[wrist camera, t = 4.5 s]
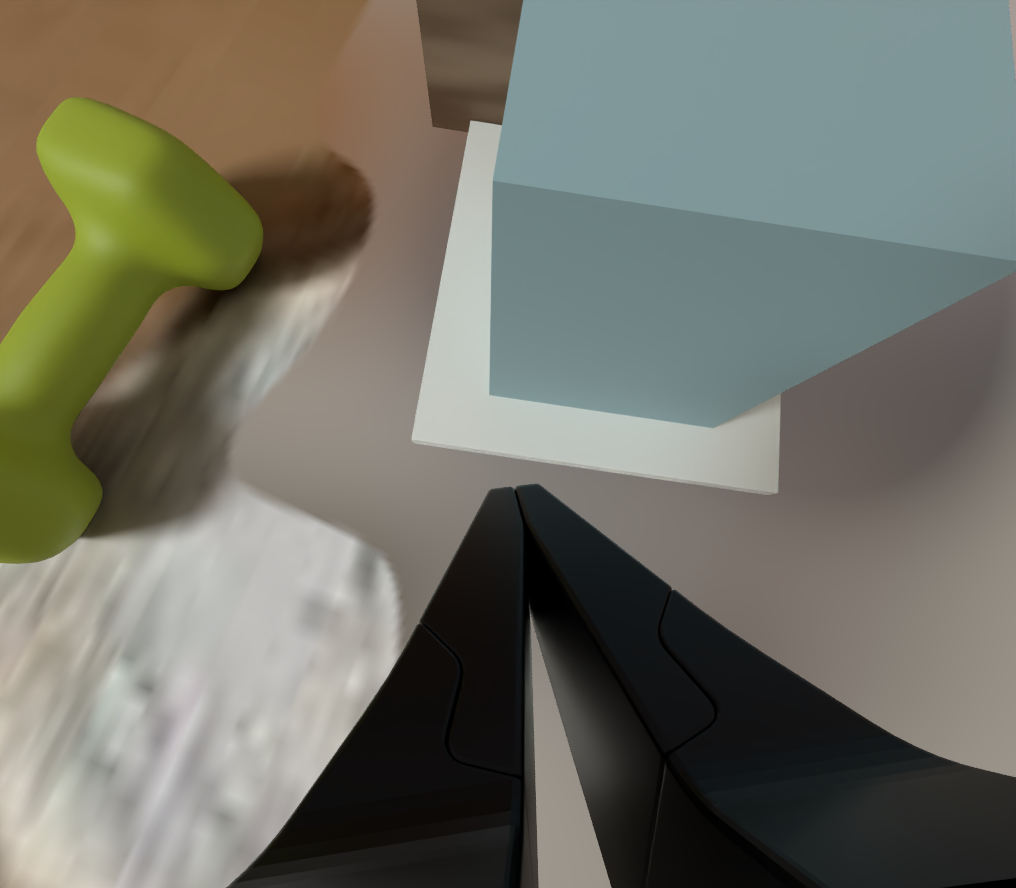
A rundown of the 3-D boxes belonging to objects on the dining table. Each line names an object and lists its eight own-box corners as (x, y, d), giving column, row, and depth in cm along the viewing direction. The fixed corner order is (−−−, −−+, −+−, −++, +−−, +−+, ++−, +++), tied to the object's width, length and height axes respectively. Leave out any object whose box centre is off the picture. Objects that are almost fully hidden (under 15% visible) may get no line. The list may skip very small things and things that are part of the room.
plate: (767, 495, 22) (778, 493, 21) (413, 443, 22) (411, 439, 21) (777, 181, 25) (786, 169, 25) (471, 133, 25) (470, 120, 24)
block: (713, 428, 22) (1031, 263, 9) (489, 395, 22) (492, 180, 9) (723, 247, 24) (999, -100, 11) (517, 216, 23) (552, -174, 11)
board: (815, 185, 25) (961, 26, 18) (432, 126, 25) (408, -63, 17) (816, 145, 26) (958, -28, 18) (441, 86, 26) (420, -114, 18)
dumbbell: (164, 192, 24) (30, 46, 17) (308, 258, 24) (233, 137, 17) (-56, 496, 21) (-335, 470, 14) (107, 579, 20) (-94, 597, 13)
